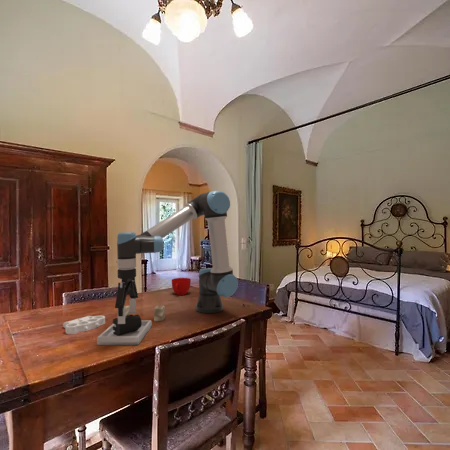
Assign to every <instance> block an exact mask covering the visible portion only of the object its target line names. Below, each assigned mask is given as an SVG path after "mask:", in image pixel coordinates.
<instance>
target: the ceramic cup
mask: <svg viewBox="0 0 450 450" xmlns="http://www.w3.org/2000/svg"><path fill="white" fill-rule="evenodd" d="M191 280H192V279H191V278H189V277H175V278H173V279H171V288H172V290H173V292H174V293H175V295H177V296H185V295H186V294H188V292H189V290H190V287H191V284H192V283H191V282H192V281H191Z"/></svg>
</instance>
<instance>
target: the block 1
mask: <svg viewBox="0 0 450 450" xmlns="http://www.w3.org/2000/svg"><path fill="white" fill-rule="evenodd" d="M124 307H125V318H126V316H127V315H131V313H130V312H129V305H124ZM116 310H117V311H116V315H117V317H116V318H118V308H116Z"/></svg>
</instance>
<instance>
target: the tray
mask: <svg viewBox="0 0 450 450" xmlns="http://www.w3.org/2000/svg"><path fill="white" fill-rule="evenodd" d="M141 322H142V324H141V327H140V328H139V329H138V330H136V331H133V332H129V333H126V334H123V335H120V336H117V335H115V334H113V332H115V331H114V330H113V326H114V327H116V325H115V324H113V323H112V324H111V325H109V326H108V327H107V329H105V330H104V331H103V332H101V333H100V334H99V335H98V336H97V337H96V338H97V339H96V341H97V343H96V345H97V346H138V345H139V344H140V343H141V342H142V340H143V339H144V338H145V336H146V335H147V334H148V333H149V331H150V330H151V329H152V328H153V327H152V325H153V324H152V320H150V319H149V320H147V319H146V320H145V319H144V320H142V319H141Z"/></svg>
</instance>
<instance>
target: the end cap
mask: <svg viewBox="0 0 450 450" xmlns="http://www.w3.org/2000/svg"><path fill="white" fill-rule="evenodd" d="M141 320H142V318H141V316H140V315H139V314H135V315H134V314H130V315H127V316H126V318H125V324H118V318H117V317H115V318H113V319H112V324H115V325H116V327H114V326H113V330H114V331H115V332H113V334H115V335H117V336H120V335H123V334H126V333H129V332H133V331H136V330H138V329H139V328H140V327H141V324H142V322H141Z"/></svg>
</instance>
